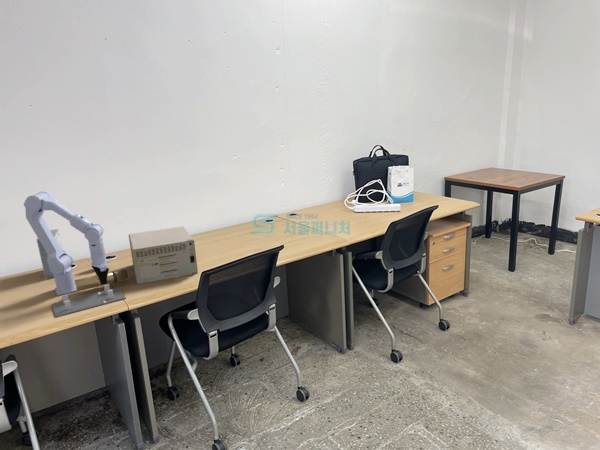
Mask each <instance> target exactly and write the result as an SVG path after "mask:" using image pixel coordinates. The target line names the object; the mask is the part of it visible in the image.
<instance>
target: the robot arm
mask: <svg viewBox="0 0 600 450" xmlns="http://www.w3.org/2000/svg"><path fill="white" fill-rule="evenodd" d="M23 206H24V209H25V219H26V220H27V221H28V224H29V226H31V229H32V230H33V232H34V234H35V236H36V238H38V239H39V241H40V242H41V244H42V246H43V247H44V249H45V251H46V252H47V254H48V257H47V262H48V264H49V269H50V271H51V272H52V273H53V274H54V277H53V279H54V284H55V287H54V291H55V293H56V296H63V295H67V294H69V293H74V292H78V291H77V289H76V285H75V278H74V274H73V269H72V266H73V263H74V260H73V258H72V256H71V255H69V254H68V253H67V251H66V250H65V249H63V248H62V249H61V248H60V247H59V245H58V243H57V241H56V240H55V238H54V236H53V235H52V233H51V231H50V230H51V229H50V228H49V226H48V225H47V223H46V221H45V219H44V218H43V214H44V212H45V211H53V212H54V213H56V214H58V215H59V216H60V217H62V218H64V219H66V220H67V221H68V222H69V225H70V226H71V227H73V228H74V229H76V230H77V231H79V232H80V233H82V234H83V235H84V237H85V239H86V240H87V241H88V246H89V247H88V248H89V254H90V259H91V268H92V269H93V271H94V272H95V275H98V277H99V280H100V283H101V284H106V283H107V274H108V272H110V271H109V270H110V268H109V267H106V268H105V266H107V264H108V263H110V260H109V259H107V258H106V251H105V250H106V249H105V245H104V240H103V234H104V228H103V227H102V225H100V224H99V223H94V222H93V221H92V222H91V221H90V220H89V219H87V218H86V216H85V215H84V214H79V213H77V214H76V213H74V212H72V211H71V210H70V209H68V208H67V207H66V206H64V205H63V203H61V202H59V201H58V200H57V199H56V198H55V197H54V196H52V195H50V193H48V192H46V191H39V192H37V193H35V194H32V195H29V196H27V197H26V198H25V201H24V203H23ZM106 285H107V284H106Z"/></svg>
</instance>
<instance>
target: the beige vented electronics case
mask: <svg viewBox="0 0 600 450" xmlns="http://www.w3.org/2000/svg"><path fill="white" fill-rule="evenodd" d="M128 240H129V241H128V242H129V247H130V254H131V259H132V266H133V271H134V276H135V281H136V284H137V285H139V284H141V285H142V284H146V283H152V282H157V281H163V280H168V279H172V278H173V279H174V278H178V277H185V276H189V275H194V274H198V273H199V272H198V271H199V270H198V264H197V263H198V262H197V255H196V245H195V241H194V239H193V237H192V236H191V235H190V233H189V232H188V231H187V228H186V227H185V226H184V225H183V226H182V225H181V226H174V227H168V228H161V229H154V230H147V231H139V232H133V233H129V234H128Z"/></svg>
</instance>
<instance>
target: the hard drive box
mask: <svg viewBox="0 0 600 450" xmlns="http://www.w3.org/2000/svg"><path fill="white" fill-rule="evenodd" d="M50 231H51V233H52V235H53V236H54V238H55V240H56V241H57V243H58V245H59V247H60V248H61V249H63V245H62V240H61V236H60V231H59V229H58V228H57V229H50ZM36 242H37V243H36V244H37V247H38V251H39V256H40V257H39V258H40V261H41V265H42V270H43V274H44V279H51V278H54V274H53V273H52V272H51V271H50V269H49V264H48V262H47V257H48V254H47V252H46V251H45V249H44V247H43V246H42V244H41V242H40V241H39V239H38V237H36Z"/></svg>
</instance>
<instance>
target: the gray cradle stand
mask: <svg viewBox="0 0 600 450" xmlns="http://www.w3.org/2000/svg"><path fill="white" fill-rule="evenodd" d="M103 288H104V289H103V290H102V291H98V292H94V293H93V292H92V293H90V294H86V295H81V296H77V297H73V298H70V299H69V294H62V295H61V297H62V300H61V301H57V302H54V303H52V304H51V306H52V309H53V312H54V316H55V318H58V317H59V316H60V317H63V316H68V315H70V314H74V313H77V312H78V313H79V312H81V311H85V310H89V309H93V308H97V307H99V306H104V305H109V304H112V303H115V302H119V301H124V300H127V297H126V296H125V294H124V293H123V292H122V290H121V289H120V288H119V287H118V286H117V287H113V288H110V284H106V285H103ZM60 317H59V318H60Z"/></svg>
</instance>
